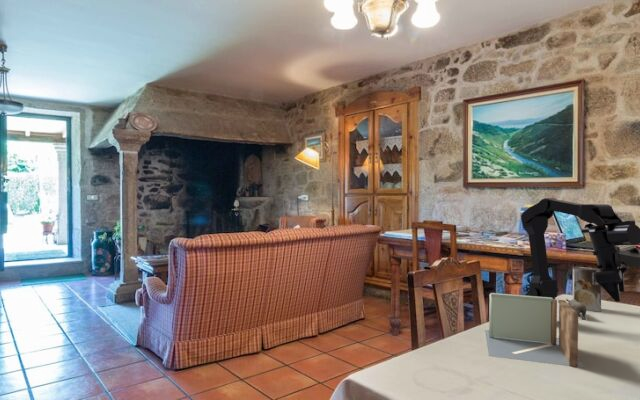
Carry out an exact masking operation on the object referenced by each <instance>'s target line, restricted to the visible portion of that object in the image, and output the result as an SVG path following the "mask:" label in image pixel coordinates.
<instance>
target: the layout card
mask: <svg viewBox="0 0 640 400" xmlns="http://www.w3.org/2000/svg"><path fill="white" fill-rule="evenodd" d="M484 333H485V340H486V344H487V345H486V347H487V351H488V352H487V353H488V357H495V358H502V359H510V360H520V361H526V362H533V363H535V362H536V363H541V364H549V365H551V364H552V365H557V366H558V365H559V366H566V367H571V366H570V365H569V362H568V360H567V359H566V357H565V355H564V354H563V352H562V351H561V349H560V347H559V337H557V342H556V344H551V343H545V342H536V341H527V340H518V339H509V338H500V337H494V338H491V337H489V330H487V329H485V330H484ZM577 368H581V369H583V368H584V366H583V365H582V363H581V362H580V360H579V359H578V367H577ZM584 369H585V368H584Z"/></svg>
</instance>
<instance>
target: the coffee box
mask: <svg viewBox="0 0 640 400" xmlns="http://www.w3.org/2000/svg"><path fill="white" fill-rule="evenodd" d="M597 270H598V267H584V266H572V299H575V300H576V301H578V302H580V303H581V304H583V305H585V307H586V311H591V312H598V313H600V312H602V286H601V285H600V284H598V283H597V282H595V279H594V274H595V273H596V271H597Z"/></svg>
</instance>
